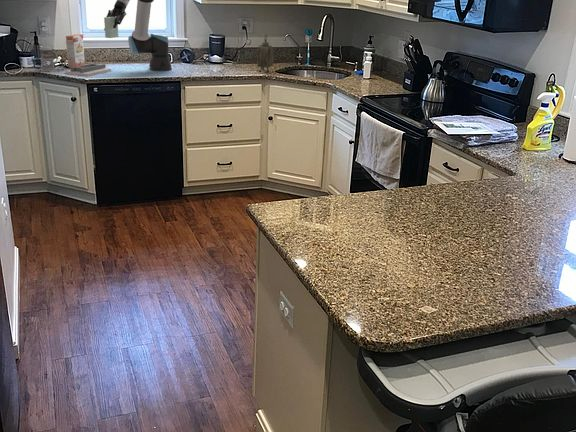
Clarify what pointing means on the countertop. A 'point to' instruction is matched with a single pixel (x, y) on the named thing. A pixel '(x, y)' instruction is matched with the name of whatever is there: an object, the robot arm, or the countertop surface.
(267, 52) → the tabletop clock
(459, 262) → the countertop surface
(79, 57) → the cracker box
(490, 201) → the countertop surface
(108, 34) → the door panel
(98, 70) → the grey flat block
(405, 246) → the countertop surface
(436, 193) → the countertop surface
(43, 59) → the french press
